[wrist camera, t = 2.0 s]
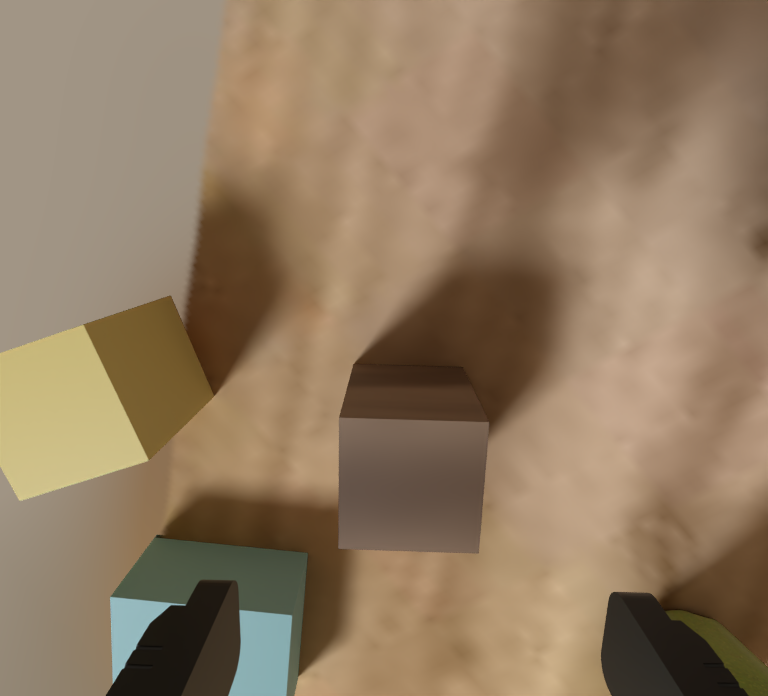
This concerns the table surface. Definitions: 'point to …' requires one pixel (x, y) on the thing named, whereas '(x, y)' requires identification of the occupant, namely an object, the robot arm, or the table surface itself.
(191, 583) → the teal plinth block
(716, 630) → the plant pot
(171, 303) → the mustard block
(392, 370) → the walnut block
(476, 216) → the table surface
